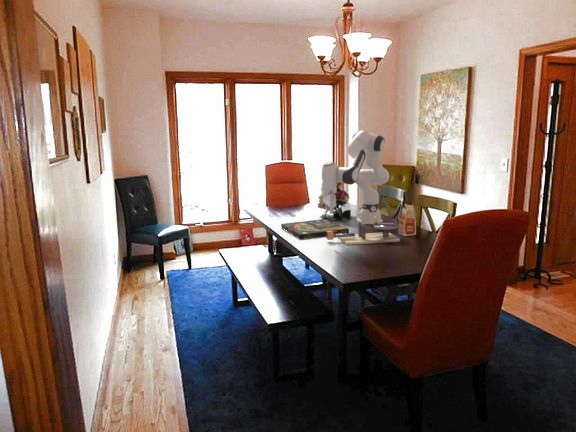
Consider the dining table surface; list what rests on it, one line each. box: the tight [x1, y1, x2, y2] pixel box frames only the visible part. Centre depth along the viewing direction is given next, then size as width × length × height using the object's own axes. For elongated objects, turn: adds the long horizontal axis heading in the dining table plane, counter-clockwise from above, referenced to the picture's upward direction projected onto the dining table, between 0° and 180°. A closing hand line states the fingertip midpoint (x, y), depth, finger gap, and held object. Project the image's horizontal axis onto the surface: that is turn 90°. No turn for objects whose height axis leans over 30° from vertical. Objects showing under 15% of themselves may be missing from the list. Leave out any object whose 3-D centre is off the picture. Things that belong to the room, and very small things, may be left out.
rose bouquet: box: [317, 182, 352, 223], centre depth 334 cm, size 26×29×30 cm
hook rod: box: [325, 231, 356, 241], centre depth 269 cm, size 4×17×5 cm, turn 98°
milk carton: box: [397, 203, 417, 237], centre depth 282 cm, size 9×9×20 cm
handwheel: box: [372, 217, 399, 231], centre depth 270 cm, size 15×15×6 cm
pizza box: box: [280, 218, 350, 240], centre depth 299 cm, size 35×35×4 cm
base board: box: [338, 221, 401, 246], centre depth 271 cm, size 18×34×11 cm, turn 98°
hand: (329, 212), depth 265 cm, fingers open, 8 cm apart
